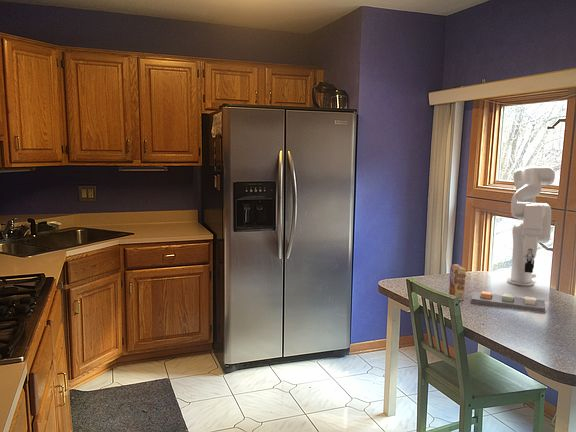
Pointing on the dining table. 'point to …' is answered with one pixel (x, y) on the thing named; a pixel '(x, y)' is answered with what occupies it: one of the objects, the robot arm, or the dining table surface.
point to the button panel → (508, 303)
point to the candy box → (457, 281)
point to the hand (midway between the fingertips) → (529, 270)
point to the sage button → (507, 297)
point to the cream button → (530, 300)
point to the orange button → (486, 294)
